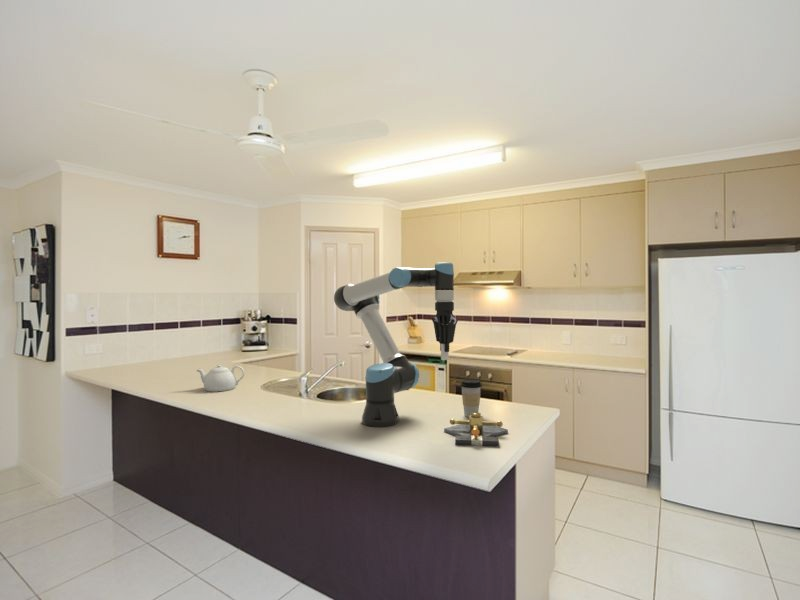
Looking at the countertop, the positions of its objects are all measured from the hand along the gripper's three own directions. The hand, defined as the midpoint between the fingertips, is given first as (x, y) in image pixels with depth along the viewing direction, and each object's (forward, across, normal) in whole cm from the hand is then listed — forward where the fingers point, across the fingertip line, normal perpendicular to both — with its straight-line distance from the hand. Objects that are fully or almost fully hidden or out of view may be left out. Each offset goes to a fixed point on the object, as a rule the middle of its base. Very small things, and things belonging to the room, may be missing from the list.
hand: (444, 359), depth 179 cm
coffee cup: (+27, +3, -18) cm, 32 cm away
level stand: (+26, -18, 0) cm, 32 cm away
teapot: (+27, +127, +53) cm, 140 cm away
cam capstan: (+25, -16, -1) cm, 30 cm away
